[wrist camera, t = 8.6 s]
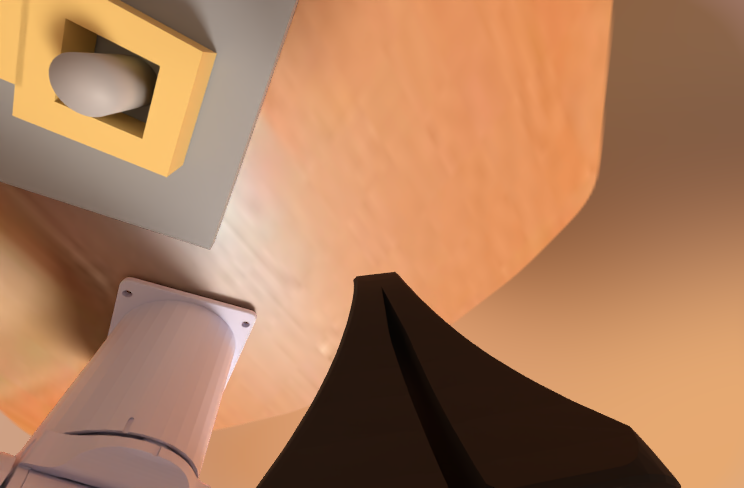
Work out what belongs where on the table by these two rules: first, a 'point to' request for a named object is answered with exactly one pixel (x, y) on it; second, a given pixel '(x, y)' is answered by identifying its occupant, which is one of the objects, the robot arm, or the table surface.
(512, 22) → the table surface
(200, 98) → the link
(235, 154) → the pintle board
